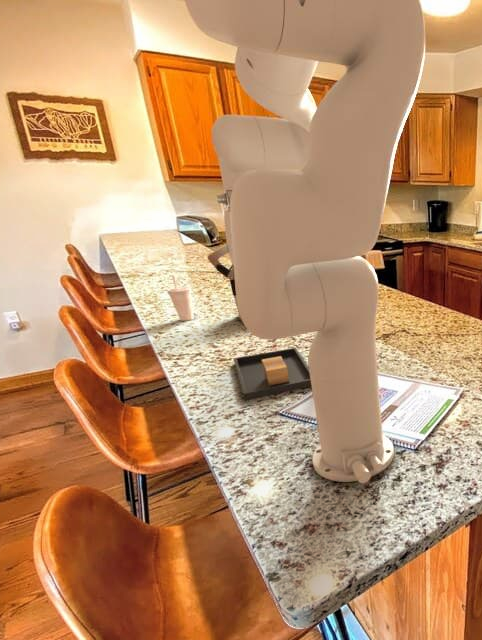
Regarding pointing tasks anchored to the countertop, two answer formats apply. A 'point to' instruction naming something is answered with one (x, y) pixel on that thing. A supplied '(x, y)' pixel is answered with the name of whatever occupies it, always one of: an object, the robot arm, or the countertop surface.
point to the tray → (254, 374)
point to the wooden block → (275, 371)
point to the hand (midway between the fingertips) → (267, 295)
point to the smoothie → (182, 301)
